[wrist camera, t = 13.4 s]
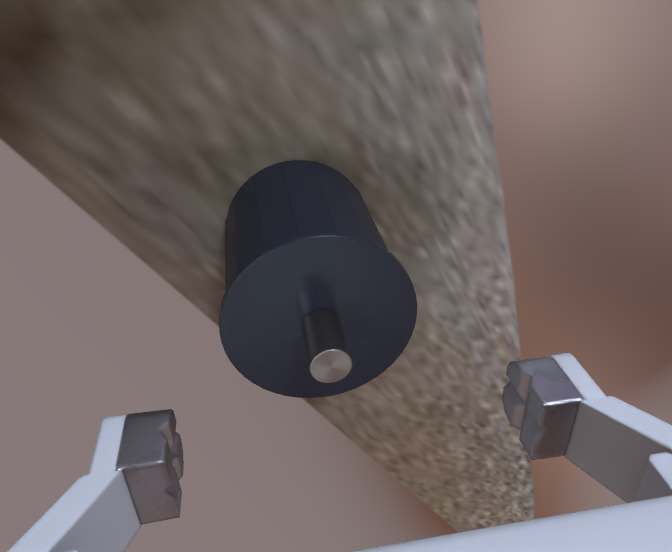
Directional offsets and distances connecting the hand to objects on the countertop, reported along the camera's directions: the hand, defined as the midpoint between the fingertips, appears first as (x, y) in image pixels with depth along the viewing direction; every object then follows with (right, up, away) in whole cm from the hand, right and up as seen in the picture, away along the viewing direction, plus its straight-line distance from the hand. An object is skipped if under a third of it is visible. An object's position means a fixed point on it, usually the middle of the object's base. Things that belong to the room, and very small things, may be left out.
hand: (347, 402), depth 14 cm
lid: (-1, 0, +22) cm, 22 cm away
